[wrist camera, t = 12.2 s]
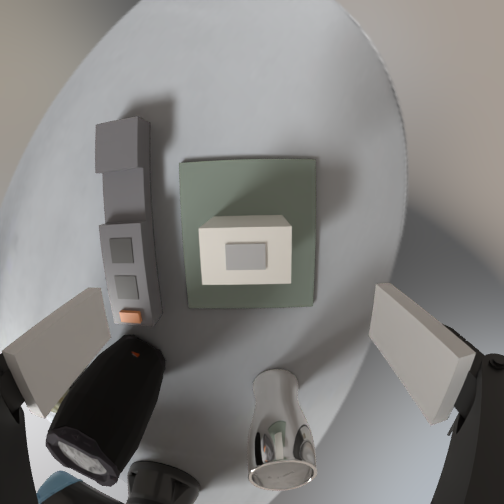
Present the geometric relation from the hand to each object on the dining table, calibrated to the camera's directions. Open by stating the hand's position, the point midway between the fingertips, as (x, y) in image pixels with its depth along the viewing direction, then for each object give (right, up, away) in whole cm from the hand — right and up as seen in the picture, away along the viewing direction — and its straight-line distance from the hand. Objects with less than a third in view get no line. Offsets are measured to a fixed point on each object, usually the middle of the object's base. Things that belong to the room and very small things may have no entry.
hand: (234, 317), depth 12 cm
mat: (0, +5, +18) cm, 18 cm away
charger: (0, +4, +17) cm, 18 cm away
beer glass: (+4, -15, +22) cm, 27 cm away
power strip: (-13, +6, +17) cm, 22 cm away
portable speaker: (-14, -11, +22) cm, 28 cm away
